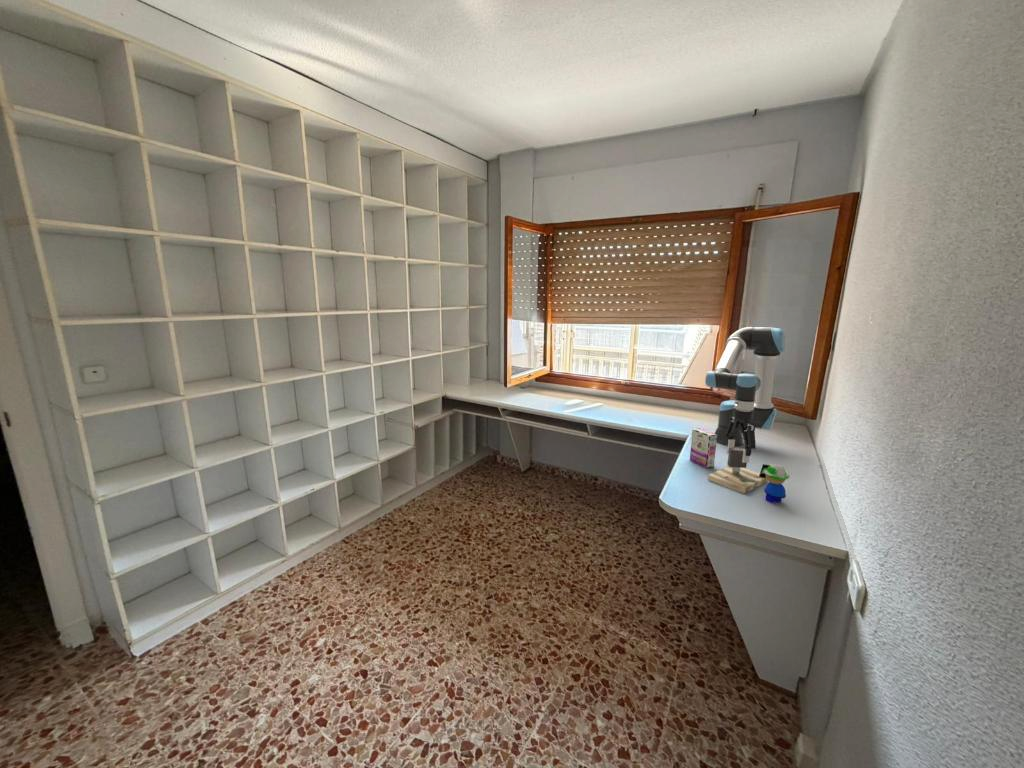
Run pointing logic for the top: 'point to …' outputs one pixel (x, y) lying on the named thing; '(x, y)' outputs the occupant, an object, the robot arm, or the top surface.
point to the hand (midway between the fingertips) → (737, 457)
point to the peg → (736, 460)
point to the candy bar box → (703, 447)
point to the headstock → (737, 479)
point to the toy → (774, 482)
